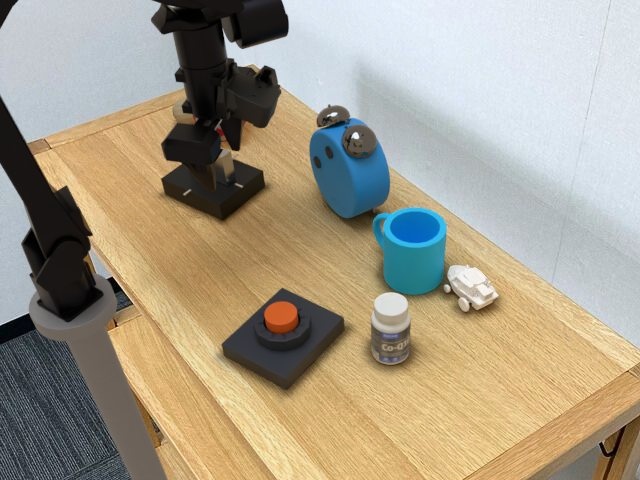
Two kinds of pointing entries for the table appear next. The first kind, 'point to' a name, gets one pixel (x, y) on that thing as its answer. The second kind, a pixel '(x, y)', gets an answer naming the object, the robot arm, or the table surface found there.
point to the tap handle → (225, 168)
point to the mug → (412, 249)
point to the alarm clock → (348, 163)
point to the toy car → (470, 287)
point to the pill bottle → (390, 328)
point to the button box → (284, 340)
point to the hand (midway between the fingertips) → (224, 169)
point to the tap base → (223, 198)
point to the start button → (281, 317)
